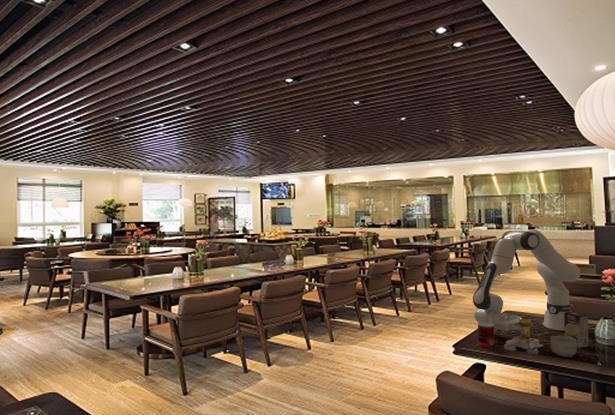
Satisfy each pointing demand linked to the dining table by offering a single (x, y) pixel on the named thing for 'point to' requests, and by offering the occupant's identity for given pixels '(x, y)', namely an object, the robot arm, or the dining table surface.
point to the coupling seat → (520, 344)
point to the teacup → (563, 346)
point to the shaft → (531, 348)
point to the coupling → (525, 327)
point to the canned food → (486, 334)
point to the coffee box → (576, 327)
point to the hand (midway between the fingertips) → (527, 327)
